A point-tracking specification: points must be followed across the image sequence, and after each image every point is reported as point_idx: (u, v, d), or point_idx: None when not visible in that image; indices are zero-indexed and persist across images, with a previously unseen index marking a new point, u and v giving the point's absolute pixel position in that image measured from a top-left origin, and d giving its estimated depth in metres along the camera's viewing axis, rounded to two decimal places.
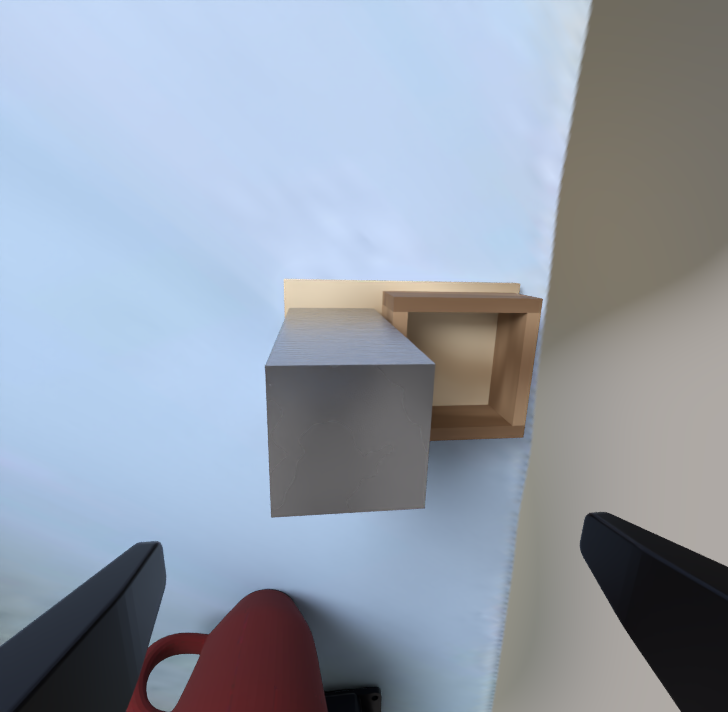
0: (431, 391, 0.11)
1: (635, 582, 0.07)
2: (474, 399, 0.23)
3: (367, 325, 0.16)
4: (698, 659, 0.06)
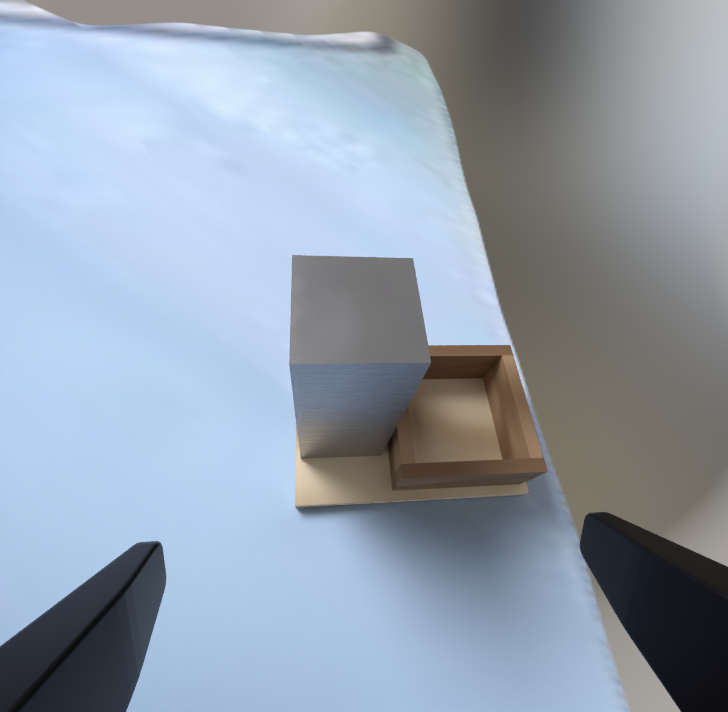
0: (414, 273, 0.14)
1: (635, 582, 0.07)
2: None
3: None
4: (698, 659, 0.06)
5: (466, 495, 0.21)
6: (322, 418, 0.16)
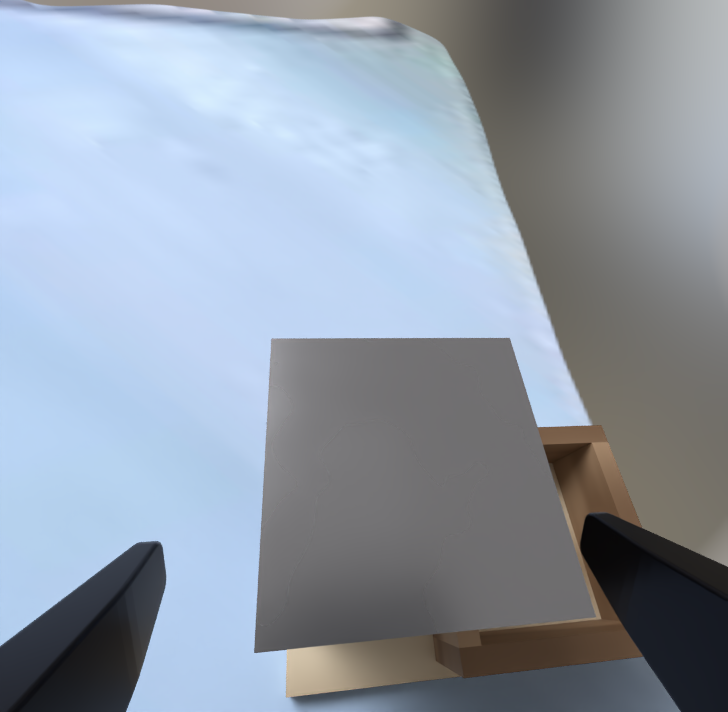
0: (518, 373, 0.07)
1: (635, 582, 0.07)
2: None
3: None
4: (698, 659, 0.06)
5: None
6: None
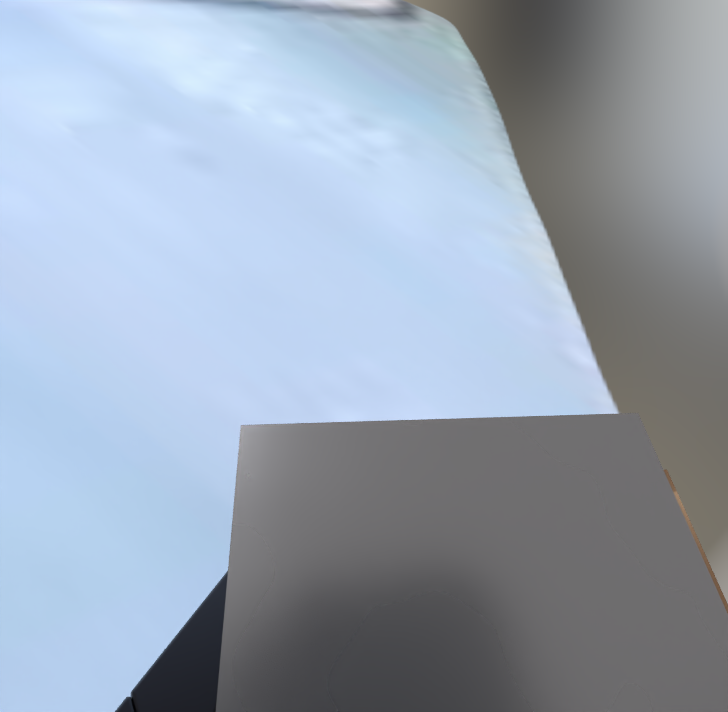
0: (664, 480, 0.04)
1: None
2: None
3: None
4: None
5: None
6: None
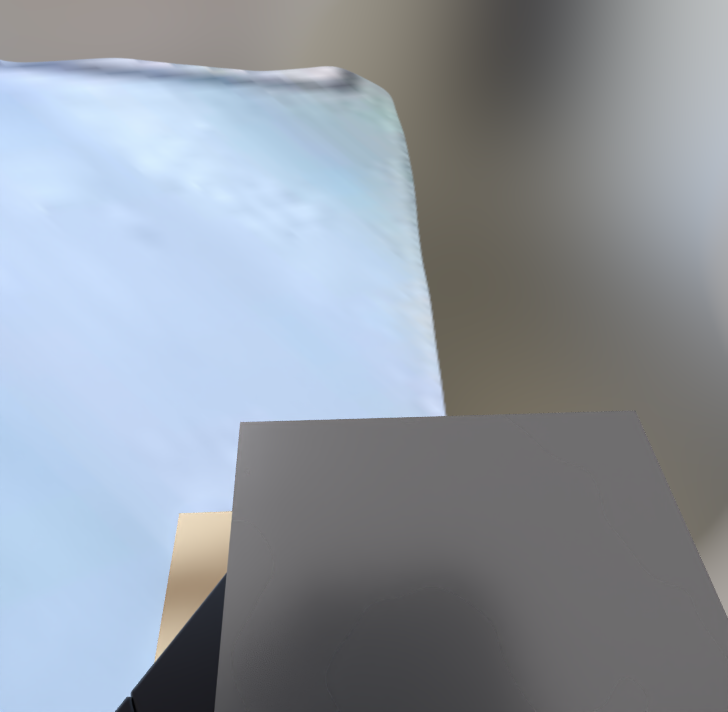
0: (662, 477, 0.04)
1: None
2: None
3: None
4: None
5: None
6: None
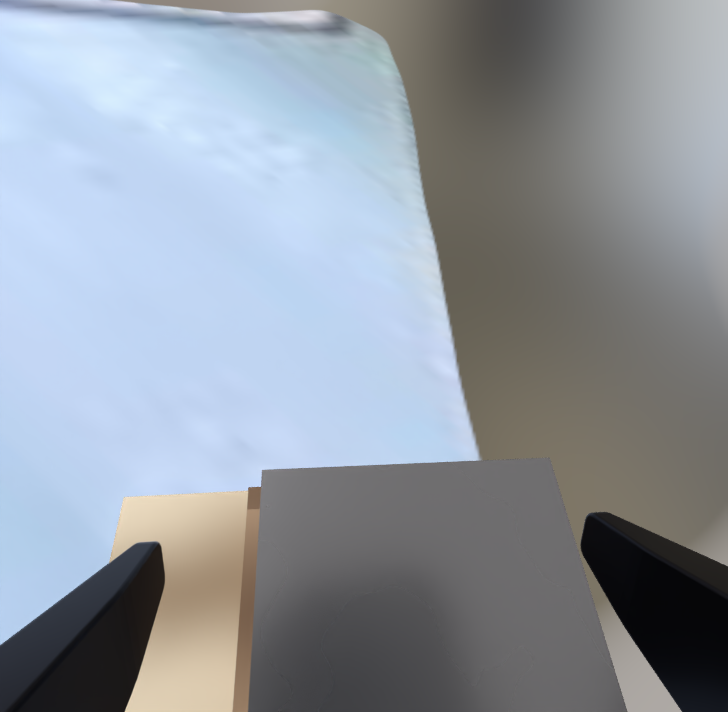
0: (562, 509, 0.06)
1: (636, 582, 0.07)
2: None
3: None
4: (699, 659, 0.06)
5: None
6: None
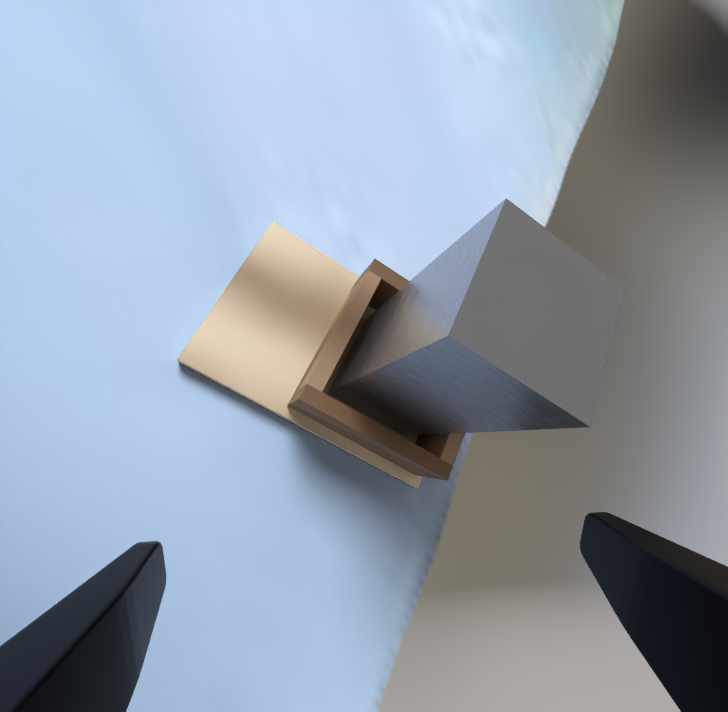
0: (618, 308, 0.11)
1: (635, 582, 0.07)
2: None
3: None
4: (698, 659, 0.06)
5: (357, 454, 0.19)
6: (399, 386, 0.14)
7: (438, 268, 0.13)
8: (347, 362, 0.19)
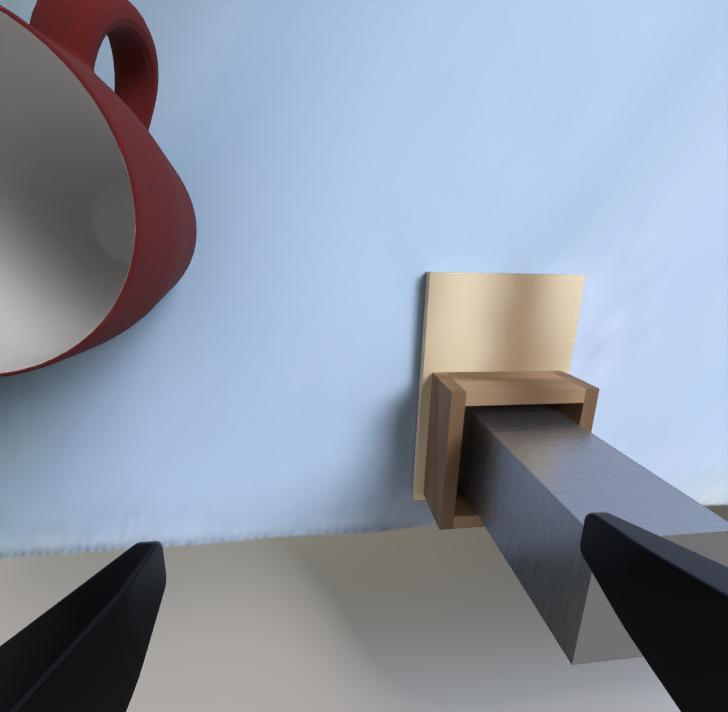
0: None
1: (635, 582, 0.07)
2: None
3: None
4: (698, 659, 0.06)
5: (419, 442, 0.22)
6: (509, 477, 0.16)
7: (633, 475, 0.14)
8: None
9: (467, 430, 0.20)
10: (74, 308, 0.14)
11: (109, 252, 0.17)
